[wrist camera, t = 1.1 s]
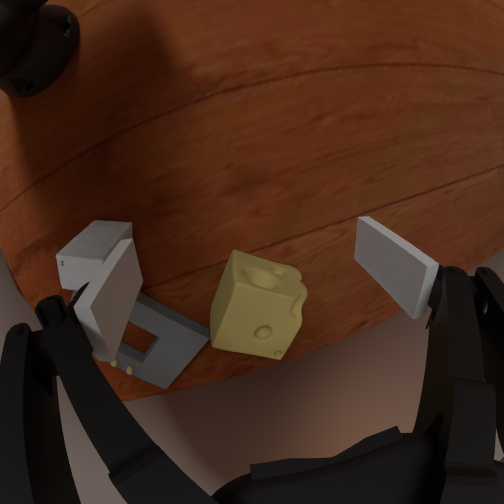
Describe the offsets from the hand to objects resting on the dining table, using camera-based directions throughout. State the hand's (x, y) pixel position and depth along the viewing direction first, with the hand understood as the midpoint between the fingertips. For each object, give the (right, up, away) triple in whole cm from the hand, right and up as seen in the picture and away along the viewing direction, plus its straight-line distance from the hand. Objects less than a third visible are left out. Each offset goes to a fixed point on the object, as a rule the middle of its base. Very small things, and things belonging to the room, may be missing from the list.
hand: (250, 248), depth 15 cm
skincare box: (-19, +2, +20) cm, 28 cm away
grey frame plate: (-20, -13, +26) cm, 36 cm away
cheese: (0, -5, +26) cm, 27 cm away
